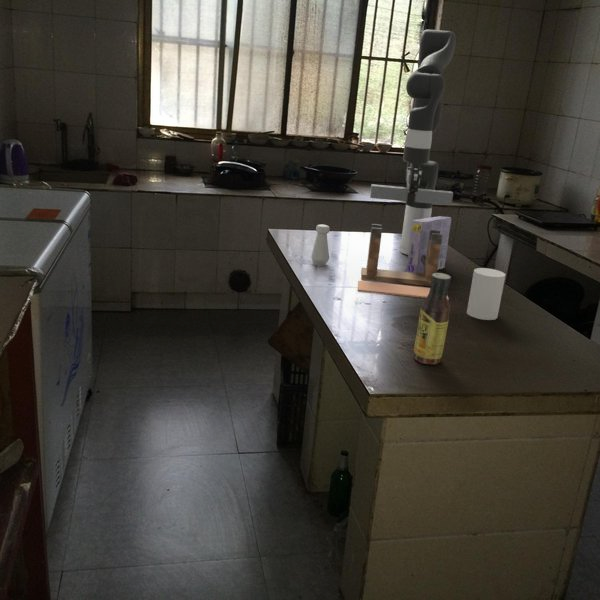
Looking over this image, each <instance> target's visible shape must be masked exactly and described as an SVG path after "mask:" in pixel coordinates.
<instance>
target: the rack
mask: <svg viewBox="0 0 600 600" xmlns="http://www.w3.org/2000/svg"><path fill="white" fill-rule="evenodd" d="M382 233H383V228H382V224H377V223H371V227H370V237H369V244H368V246H369V247H368V253H367V254H368V255H367V260H366V262H367V263H366V267H361V271H360V273H361V274H360V278H361V280H363V281H365V280H366V281H373V282H383V283H393V284H395V283H396V284H403V285H404V284H405V285H413V284H414V285H413V286H423V285H425V286H426V287H431V277H432V274H434V273H438V270H437V267H438V261H439V254H440V248H441V241H442V234H440V230H430V234H429V241H428V248H427V255H426V262H425V268H424V274H421V273H411V272H406V271H400V270H390V269H381V268H378V267H379V266H378V265H379V258H380V252H381V251H380V250H381V241H382Z"/></svg>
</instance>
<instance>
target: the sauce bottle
mask: <svg viewBox="0 0 600 600" xmlns="http://www.w3.org/2000/svg"><path fill="white" fill-rule="evenodd" d="M451 280H452V277H451V275H449V274H446V273H443V272H437V273H434V274H432V277H431V286H429V288H430V291H429V294H428V296H427V298H424V301H423V304H422V305H421V307H420V311H419V317H418V322H417V323H418V324H417V330H416V337H415V340H414V341H415V343H414V346H413V352H414V353H413V358H414V360H416V361H417V362H419V363H420V364H422V365H423V364H424V365H430V366H431V365H432V366H433V365H438V364H439V363H440V362H441V358H442V356H443V352H444V347H445V343H446V336H447V331H448V325H449V320H450V319H449V318H450V317H449V316H450V312H451V305H450V302H449V300H447V296H448V294H449V293H448V291H449V285H450V284H451Z"/></svg>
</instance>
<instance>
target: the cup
mask: <svg viewBox="0 0 600 600" xmlns="http://www.w3.org/2000/svg"><path fill="white" fill-rule="evenodd" d="M471 279H472V281H471V285H470V292H469V297H468V303H467V308H466V309H467V310H466V314H467V315H468V316H469V317H472V318H475V319H478V320H483V321H486V320H487V321H492V320H493V321H495V320H496V319H498V315H499V311H500V305H501V300H502V295H503V291H504V284H505V280H506V273H504V272H503V271H500V270H498V269H495V268H494V269H493V268H488V267H487V268H486V267H478V268H474V270H473V274H472V278H471Z"/></svg>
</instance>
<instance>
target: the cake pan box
mask: <svg viewBox="0 0 600 600" xmlns="http://www.w3.org/2000/svg"><path fill="white" fill-rule="evenodd" d="M451 224H452V217H450V216H442V215H439V216H433V217H432V216H431V218H424V219H418V220H412V228H411V236H410V245H409V253H408V256H407V262H406V271H405V272H411V273H421V274H424V268H425V262H426V255H427V248H428V241H429V234H430V230H440V234H442V241H441V248H440V254H439V261H438V267H437V271H439V269H440V270H443V268H444V269H445V267H446V261H447V259H446V258H447V253H448V247H449V246H448V245H449V240H450V239H449V238H450V231H451Z"/></svg>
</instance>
